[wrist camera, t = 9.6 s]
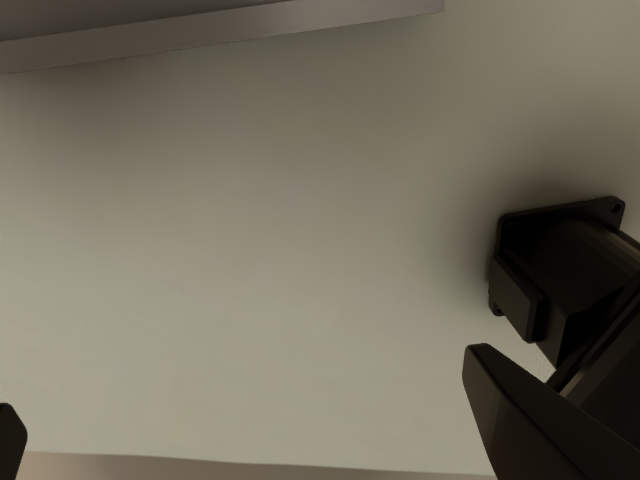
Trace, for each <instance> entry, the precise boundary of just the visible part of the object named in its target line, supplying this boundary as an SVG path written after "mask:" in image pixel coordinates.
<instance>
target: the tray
mask: <svg viewBox="0 0 640 480" xmlns="http://www.w3.org/2000/svg"><path fill="white" fill-rule="evenodd" d="M438 12H444V0H0V75H6V74H13V73H20V72H27V71H34V70H41V69H48V68H55V67H62V66H69V65H76V64H82V63H89V62H96V61H103V60H110V59H117V58H124V57H131V56H138V55H145V54H152V53H159V52H166V51H173V50H180V49H187V48H194V47H201V46H208V45H215V44H222V43H229V42H236V41H243V40H250V39H257V38H264V37H271V36H278V35H285V34H292V33H299V32H306V31H312V30H319V29H326V28H333V27H340V26H347V25H354V24H361V23H368V22H375V21H382V20H389V19H396V18H403V17H410V16H417V15H424V14H431V13H438Z"/></svg>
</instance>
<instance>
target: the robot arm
mask: <svg viewBox="0 0 640 480" xmlns="http://www.w3.org/2000/svg"><path fill="white" fill-rule="evenodd" d="M614 205H615V206H614ZM613 206H614V207H613ZM612 207H613V208H612ZM611 208H612V209H611ZM624 209H625V202H624V201H622V200H621V199H619V198H617V197H607V198H601V199H594V200H588V201H582V202H576V203H570V204H563V205H557V206H551V207H545V208H538V209H532V210H526V211H520V212H514V213H508V214H505V215H503V216H502V217H501V218H500V219H499V221H498V227H497V237H496V247H495V253H494V254H493V256H492V259H491V269H490V280H489V290H488V293H489V295H490V296H491V297H490V310H491V311H492V313H493V314H494V315H495V316H506V317H507V319H508V320H509V322H510V323H511V324H512V326H513V327H514V328H515V330H516V331H517V332H518V334H519V335H520V336H521V338H522V339H523V340H524V341H525V342H527V343H528V344H531V343H536V345H537V346H538V347H539V349H540V350H541V351H542V352H543V354H544V355H545V356H546V358H547V359H548V360H549V362H550V363H551V364H552V365H553V367H554V368H555V369H556V370H555V372H554V373H553V374H552V375H551V376H550V378H549V379H548V380H547V381H546V383H543V382H542V381H540V380H539V379H538V378H536V377H535V376H533V375H532V374H530V373H529V372H528V371H526V370H525V369H523V368H522V367H521V366H519V365H518V364H516V363H515V362H514V361H512V360H511V359H509V358H508V357H506V356H505V355H504V354H502V353H501V352H499V351H498V350H497V349H495V348H494V347H492V346H491V345H489V344H487V343H480V344H472V345H468V346H467V347H466V349H465V354H464V362H463V371H462V380H463V385H464V388H465V391H466V394H467V397H468V400H469V403H470V406H471V409H472V412H473V415H474V417H475V420H476V423H477V426H478V429H479V432H480V435H481V438H482V441H483V444H484V447H485V450H486V453H487V455H488V458H489V461H490V463H491V465H492V468H493V470H494V472H495V474H496V477H497V479H498V480H640V243H639V242H637V241H636V240H634V239H633V238H631V237H630V236H628V235H627V234H625V233H624V232H622V231H621V230H619V228H620V224H621V221H622V217H623V213H624ZM511 221H512V223H511V224H510V225H509V226H506V225H507V224H508V223H509V222H511ZM27 437H28V436H27V429H26V427H25V426H24V424H23V422H22V421H21V419H20V418H19V416H18V415H17V413H16V411H15V410H14V408H13V407H12V406H11V405H10V404H8V403H0V480H15V479H16V475H17V472H18V469H19V466H20V463H21V459H22V456H23V453H24V450H25V446H26V443H27Z"/></svg>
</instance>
